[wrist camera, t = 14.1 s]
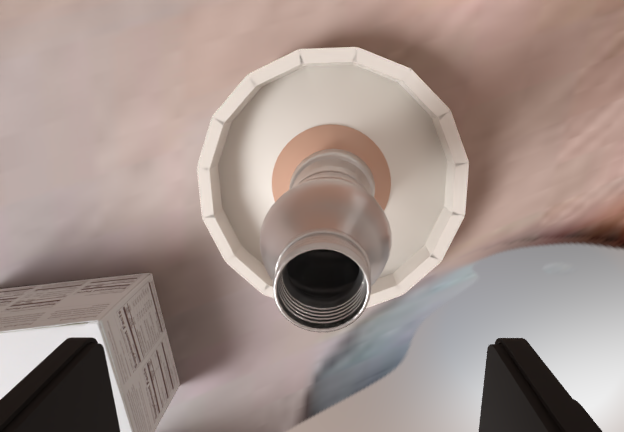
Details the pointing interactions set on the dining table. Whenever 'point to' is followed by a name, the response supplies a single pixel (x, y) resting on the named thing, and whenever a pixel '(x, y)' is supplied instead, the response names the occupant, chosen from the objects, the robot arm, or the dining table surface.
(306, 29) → the dining table surface
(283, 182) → the round tray
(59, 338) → the supplement box
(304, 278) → the plastic bottle
